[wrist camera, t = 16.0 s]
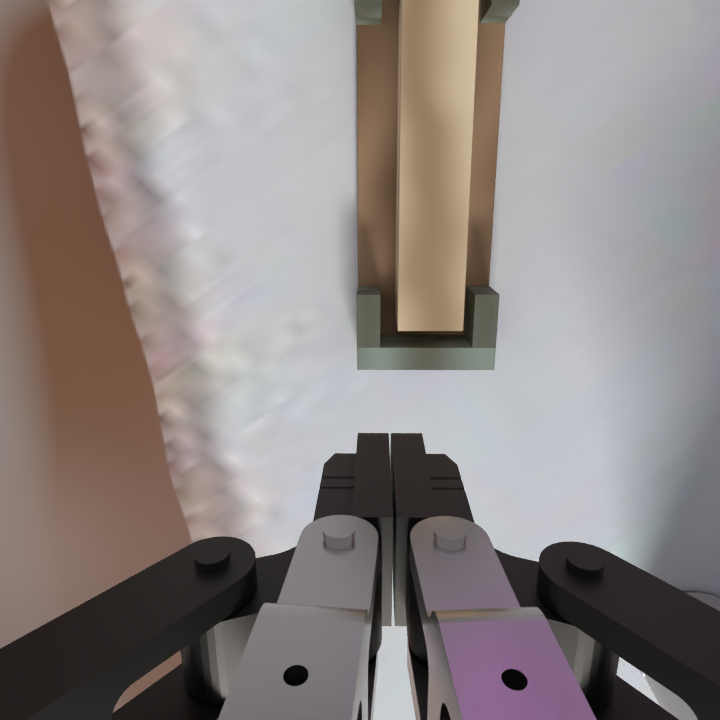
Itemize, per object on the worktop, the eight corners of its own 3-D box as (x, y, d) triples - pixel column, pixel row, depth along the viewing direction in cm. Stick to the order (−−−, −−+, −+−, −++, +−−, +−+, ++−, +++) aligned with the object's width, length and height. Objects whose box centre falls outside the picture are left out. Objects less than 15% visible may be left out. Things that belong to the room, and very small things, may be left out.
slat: (466, -16, 33) (481, -52, 28) (452, 313, 39) (463, 330, 34) (398, -14, 33) (402, -50, 28) (395, 314, 39) (397, 331, 34)
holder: (509, -71, 32) (526, -106, 29) (482, 352, 40) (494, 369, 36) (356, -68, 33) (353, -103, 29) (359, 352, 40) (357, 369, 36)
